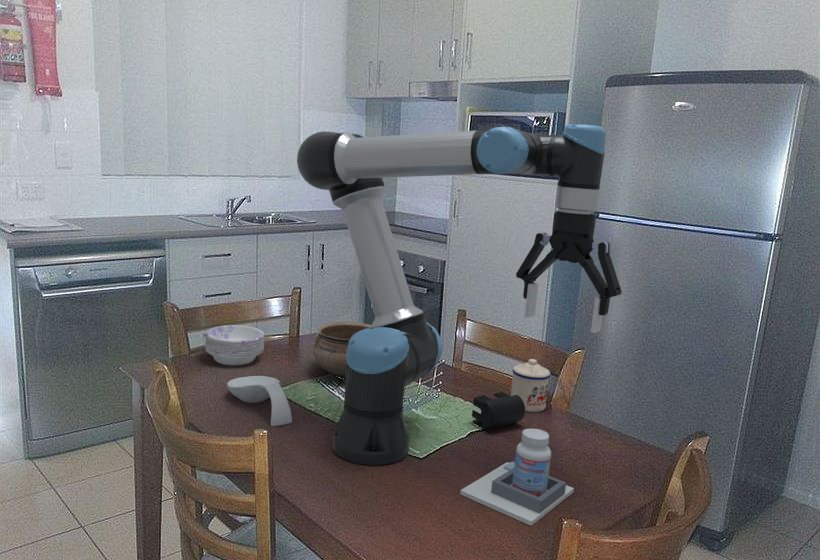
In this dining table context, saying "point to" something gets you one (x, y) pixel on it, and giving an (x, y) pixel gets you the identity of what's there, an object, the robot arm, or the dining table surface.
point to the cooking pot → (335, 345)
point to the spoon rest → (263, 395)
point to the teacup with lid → (531, 385)
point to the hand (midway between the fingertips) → (561, 323)
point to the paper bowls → (234, 344)
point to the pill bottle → (532, 462)
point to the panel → (515, 495)
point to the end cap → (498, 410)
